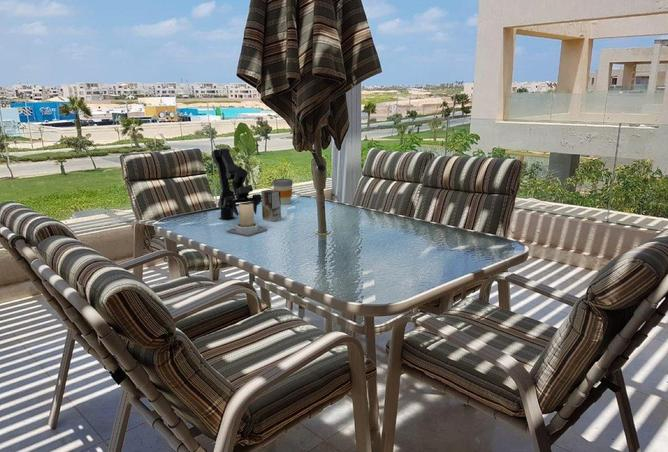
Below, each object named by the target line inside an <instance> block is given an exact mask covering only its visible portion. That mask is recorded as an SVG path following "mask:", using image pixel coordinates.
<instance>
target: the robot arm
mask: <svg viewBox="0 0 668 452" xmlns="http://www.w3.org/2000/svg"><path fill="white" fill-rule="evenodd" d="M211 158H212V159H213V163H215V165H216V166H217V172H218V177H219V185H220V189H221V191H220V194H219V199H218V202H217V206H218V209H220V217H219V219H220V220H226V221H229V220H233V219H236V216H237V217H239V210H238V209H237V204H241V203H252V204H253V211H254V214H255V215H257V211H258V208H257V207H258V206H259V204H261V203H262V194H260V193H259V194H258V193H257V194H252V197H249V195H250V193H251V192H253V191H254V187H253V185H252V184H248V185H245V182H246V180H247V177H248V170H246V168H245V169H244V168H243V167H242V166H239V165H237V164H235V161H234V160H233V157H232V155H231V153H230V149H229V148H217V149H215V148H214V149H213V151H211ZM230 181H231V185H230ZM230 186H231V187H230ZM231 188H232V189H233V190H231ZM234 214H235V215H236V216H234Z"/></svg>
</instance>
